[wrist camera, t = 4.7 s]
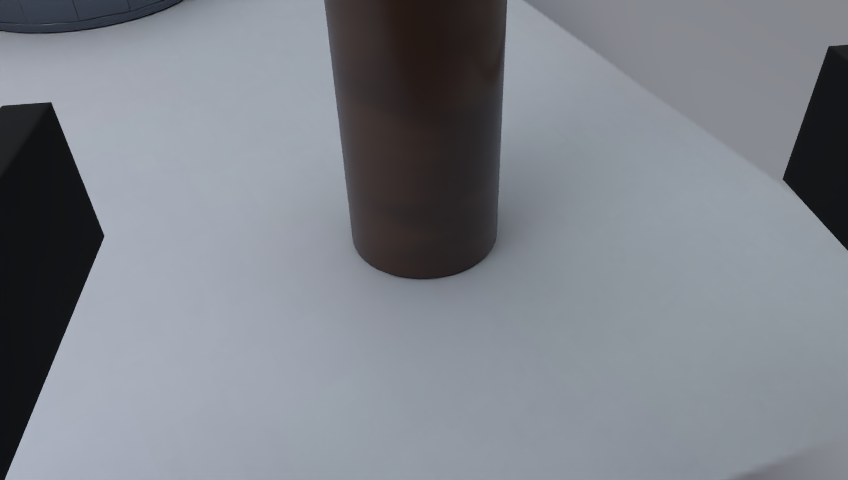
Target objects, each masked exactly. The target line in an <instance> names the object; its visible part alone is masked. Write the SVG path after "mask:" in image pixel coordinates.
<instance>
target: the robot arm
mask: <svg viewBox="0 0 848 480" xmlns="http://www.w3.org/2000/svg"><path fill="white" fill-rule="evenodd" d="M783 180H784V181H785V182H786V183H787V184H788V186H789V187H790V188H791V189H792V190H793V191H794V192H795V193H796V194H797V195H798V196H799V198H800V199H801V200H802V201H803V202H804V203H805V204H806V205H807V206H808V207H809V209H810V210H811V211H812V212H813V213H814V214H815V215H816V216H817V217H818V218H819V220H820V221H821V222H822V223H823V224H824V225H825V226H826V227H827V228H828V229H829V230H830V232H831V233H832V234H833V235H834V236H835V237H836V238H837V239H838V240H839V241H840V243H841V244H842V245H843V246H844V247H845V248H846V249H847V250H848V45H840V46H829V47H828V50H827V53H826V56H825V59H824V62H823V65H822V67H821V70H820V73H819V76H818V79H817V82H816V85H815V88H814V90H813V93H812V96H811V99H810V102H809V105H808V108H807V111H806V114H805V116H804V120H803V122H802V125H801V128H800V131H799V134H798V136H797V140H796V142H795V145H794V148H793V151H792V154H791V157H790V160H789V162H788V165H787V168H786V171H785V174H784V177H783ZM103 238H104V234H103V231H102V229H101V226H100V224H99V221H98V219H97V216H96V214H95V211H94V209H93V206H92V204H91V201H90V199H89V196H88V194H87V191H86V189H85V186H84V184H83V181H82V179H81V176H80V174H79V171H78V169H77V166H76V164H75V161H74V159H73V156H72V154H71V151H70V148H69V146H68V143H67V141H66V138H65V136H64V133H63V131H62V128H61V126H60V123H59V121H58V118H57V116H56V113H55V111H54V108H53V106H52V103H51V102H49V103H35V104H21V105H7V106H2V107H1V108H0V480H5V477H6V475H7V472H8V470H9V468H10V465H11V463H12V460H13V458H14V455H15V453H16V450H17V448H18V446H19V443H20V441H21V438H22V436H23V433H24V431H25V429H26V426H27V424H28V421H29V419H30V416H31V414H32V411H33V409H34V407H35V404H36V402H37V399H38V397H39V394H40V392H41V390H42V387H43V385H44V382H45V380H46V377H47V375H48V372H49V370H50V368H51V365H52V363H53V360H54V358H55V355H56V353H57V351H58V348H59V346H60V343H61V341H62V338H63V336H64V333H65V331H66V329H67V326H68V324H69V321H70V319H71V316H72V314H73V312H74V309H75V307H76V304H77V302H78V299H79V297H80V294H81V292H82V290H83V287H84V285H85V282H86V280H87V277H88V275H89V273H90V270H91V268H92V265H93V263H94V260H95V258H96V255H97V253H98V251H99V248H100V246H101V243H102V241H103Z"/></svg>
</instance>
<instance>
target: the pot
mask: <svg viewBox="0 0 848 480" xmlns="http://www.w3.org/2000/svg"><path fill="white" fill-rule="evenodd" d="M180 1H182V0H0V30H3V31H10V32H24V33H47V32H64V31H75V30H82V29H90V28H96V27H101V26H107V25H112V24H116V23H121V22H125V21H129V20H132V19H136V18H140V17H143V16H146V15H149V14H152V13H155V12H157V11H160V10H163V9H165V8H168V7H170V6H172V5H174V4H176V3H178V2H180Z"/></svg>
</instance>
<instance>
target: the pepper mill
mask: <svg viewBox="0 0 848 480" xmlns="http://www.w3.org/2000/svg"><path fill="white" fill-rule="evenodd" d="M324 2H325V10H326V19H327V27H328V36H329V44H330V52H331V61H332V69H333V77H334V86H335V94H336V103H337V111H338V119H339V128H340V136H341V144H342V153H343V161H344V170H345V178H346V186H347V195H348V203H349V211H350V220H351V228H352V236H353V242H354V245H355V248H356V249H357V251H358V253H359V254H360V255H361V256H362V257H363V259H364V260H366V261H367V262H368V263H369V264H371V265H372V266H374V267H376V268H377V269H380V270H382V271H384V272H387V273H390V274H393V275H397V276H401V277H408V278H436V277H443V276H447V275H452V274H455V273H458V272H461V271H463V270H465V269H468V268H470V267H471V266H473V265H475V264H477V263H478V262H479V261H480V260H482V259H483V258H484V257H485V256H486V255H487V254H488V253H489V251H490V250H491V249H492V247H493V245H494V243H495V240H496V236H497V216H498V193H499V170H500V148H501V125H502V103H503V80H504V58H505V35H506V13H507V0H324Z"/></svg>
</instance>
